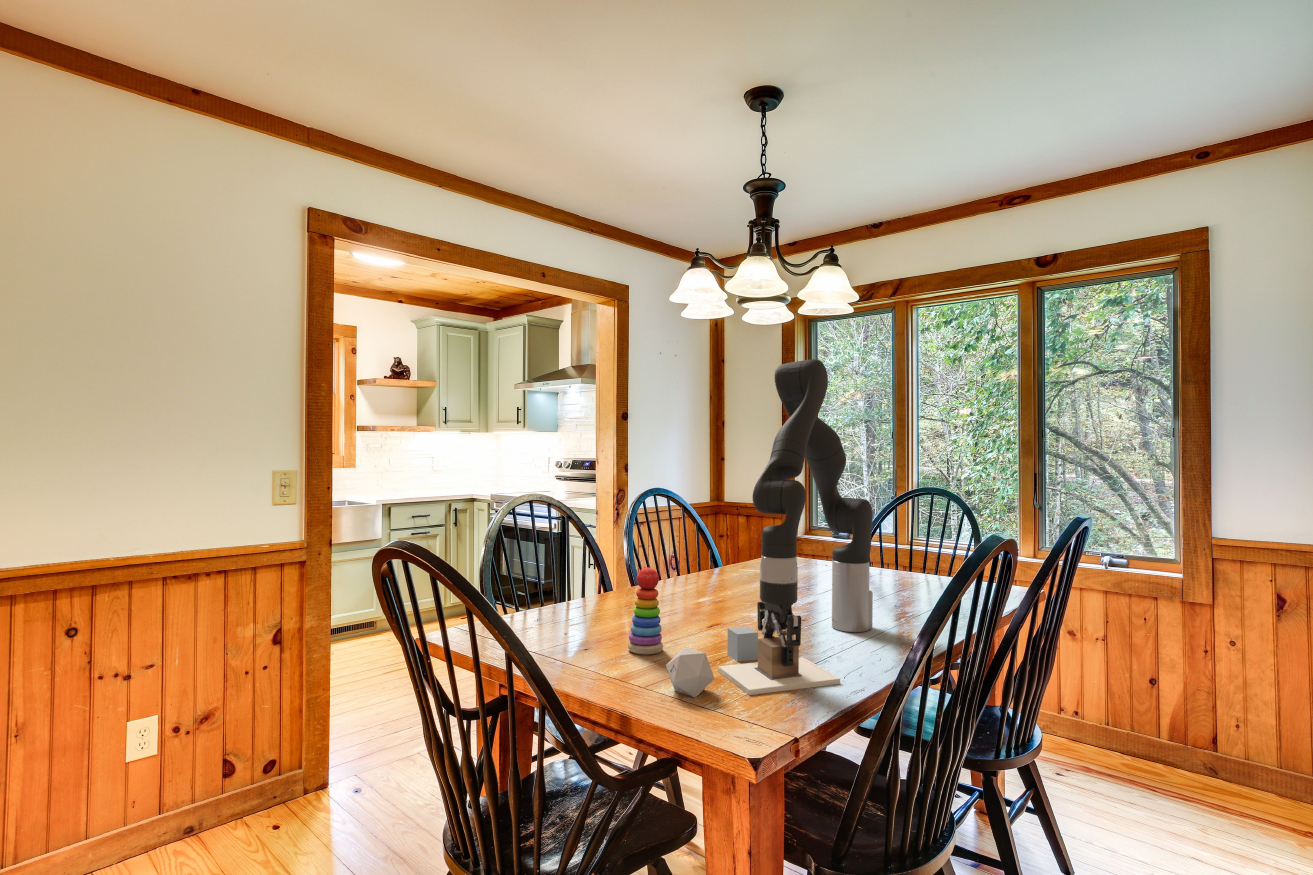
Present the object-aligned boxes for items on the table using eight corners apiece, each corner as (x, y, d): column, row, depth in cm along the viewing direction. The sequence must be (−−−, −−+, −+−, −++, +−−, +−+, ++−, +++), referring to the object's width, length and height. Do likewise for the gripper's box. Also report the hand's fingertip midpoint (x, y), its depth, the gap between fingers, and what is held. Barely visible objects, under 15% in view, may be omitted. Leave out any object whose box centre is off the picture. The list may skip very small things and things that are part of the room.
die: (673, 684, 137) (654, 652, 133) (711, 662, 138) (693, 630, 133) (686, 714, 130) (666, 681, 125) (726, 691, 130) (707, 657, 126)
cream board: (802, 661, 150) (802, 656, 150) (840, 683, 137) (840, 677, 137) (718, 671, 143) (718, 665, 143) (749, 695, 130) (749, 688, 130)
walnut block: (783, 665, 144) (783, 636, 144) (798, 674, 138) (798, 644, 138) (757, 668, 142) (757, 638, 142) (771, 677, 136) (772, 647, 136)
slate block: (747, 652, 156) (747, 626, 156) (757, 659, 151) (758, 632, 151) (727, 654, 154) (727, 628, 154) (737, 661, 150) (737, 634, 150)
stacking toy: (650, 658, 151) (651, 572, 151) (621, 651, 156) (621, 568, 156) (669, 648, 158) (670, 567, 158) (640, 643, 162) (640, 563, 162)
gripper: (814, 584, 134) (813, 669, 134) (777, 570, 148) (776, 647, 148) (779, 586, 132) (779, 673, 132) (746, 572, 145) (745, 651, 145)
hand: (778, 659), depth 140 cm, fingers open, 7 cm apart
